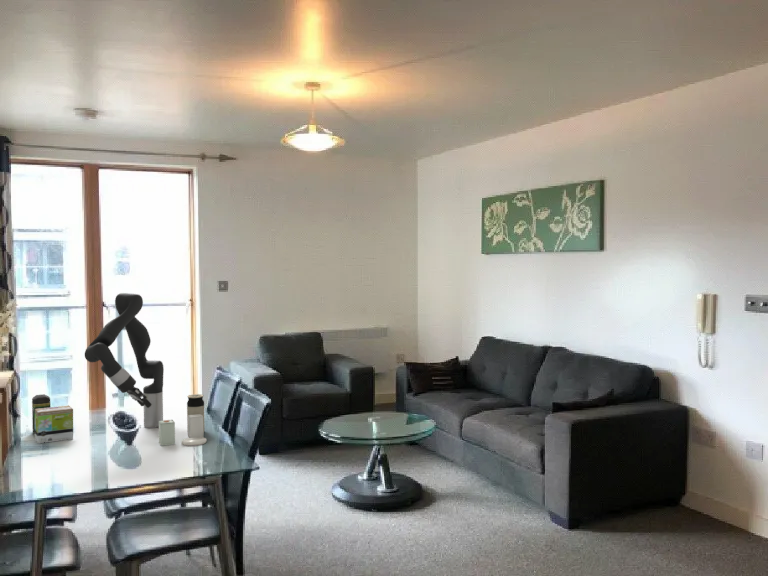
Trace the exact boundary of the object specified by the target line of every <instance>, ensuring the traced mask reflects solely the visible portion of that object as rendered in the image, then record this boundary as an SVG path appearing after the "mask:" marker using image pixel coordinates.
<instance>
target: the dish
mask: <svg viewBox="0 0 768 576" xmlns="http://www.w3.org/2000/svg"><path fill="white" fill-rule="evenodd" d="M180 443H181V445H182V446H185V447H196V446H201V445H205V444H207V438H206V437H191V438H189V437H186V438H184V439H183V438H182V439H181V441H180Z"/></svg>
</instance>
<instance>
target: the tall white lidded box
mask: <svg viewBox="0 0 768 576" xmlns="http://www.w3.org/2000/svg"><path fill="white" fill-rule="evenodd" d="M204 432H205V431H204ZM204 432H203V416H202V415H201V414H195V415H188V430H187V438H191V437H203V438H205V437H204Z"/></svg>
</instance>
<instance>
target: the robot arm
mask: <svg viewBox="0 0 768 576" xmlns="http://www.w3.org/2000/svg"><path fill="white" fill-rule="evenodd" d="M114 304H115V309H116V311H117V314H118V316H116V317H114V318H113V319H112V320H110V321H109V322H107V323H106V324H105V325H104V326H103V327H102V330H101V331H100V332H99V333H98V335H97V337H96V338H94V340H92V341H91V342H90V344H89V345H88V346H87V347H86V349H85V351H84V358H85V360H86V361H87V362H88V363H96V362H99V361H100V362H101V363H102V365H101V368H100V369H101V371H102V372H103V374H105V376H106V377H108V379H109V380H110V382H111V383H112V384H113V385H114V386H115V387H116V388H117V389H118V391H120V392H121V394H124V393H126V394H128V395H129V397H131V399H132V400H134V401H136V402H137V403H138V404H139V405H140V406H141V407H143V427H144V428H146V429H153V428H154V429H155V428H159V421H163V420H164V401H163V400H164V399H163V398H164V397H163V396H164V393H163V392H164V391H163V389H164V388H163V387H164V364H163V361H161V360H148V359H147V356H146V354H147V352H148V349H149V347H150V345H151V342H152V341H151V337H150V333H149V331H148V329H147V327H146V326H145V325H144V324H143V323H142V322H141V321H140V320H139V319H138V318H137V317H136V316H137V315H138V314H139V313H140V311H141V310H142V308H143V305H144V300H143V297H142V296H141V295H140V294H138V293H128V292H120V293H117V295H116V296H115V300H114ZM123 329H125V331H126V333H127V337H128V340H129V343H130V346H131V348H132V351H133V353H134V354H133V355H134V356H135V359H136V361H135V362H136V365H137V369H138V373H139V376H140V377H141V378H142V379H144V380H153V381H152V383H151V384H148V385H145V386H143V389H142V390H143V392H142V391H141V389H140V388H138V387H135V385H136V383H137V381H136V380H135V378H134V377H133V376H132V375H131V374H130V373H129V372H128V370H126V369H125V368H124V367H122V365H120V363H119V362H118V361H117V360H116V358H115V356H114V354H113V352H112V351H111V349H110V346H112V344H114V342H115V341H116V339H117V338H118V337H119V335H120V334H121V332H122V331H123Z"/></svg>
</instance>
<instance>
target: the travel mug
mask: <svg viewBox="0 0 768 576" xmlns="http://www.w3.org/2000/svg"><path fill="white" fill-rule="evenodd" d="M186 396H187V402H186V414H187V417H186V419H187V423H186V424H187V427H186V428H187V431H188V415H195V414H201V415H202V416H203V432H205V430H206V428H205V427H206V426H205V401H204V394H199V393H196V394H188V395H186Z"/></svg>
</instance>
